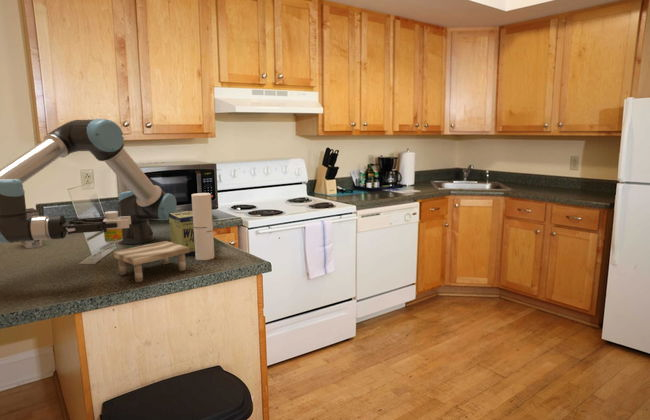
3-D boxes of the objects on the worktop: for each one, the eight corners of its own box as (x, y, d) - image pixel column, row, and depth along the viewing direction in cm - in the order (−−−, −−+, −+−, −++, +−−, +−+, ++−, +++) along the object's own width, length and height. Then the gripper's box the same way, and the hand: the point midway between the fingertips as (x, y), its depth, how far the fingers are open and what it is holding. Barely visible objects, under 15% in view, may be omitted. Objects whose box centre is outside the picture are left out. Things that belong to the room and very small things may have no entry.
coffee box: (20, 245, 200) (15, 209, 198) (37, 242, 205) (32, 207, 202) (26, 248, 194) (21, 211, 192) (43, 245, 199) (38, 209, 196)
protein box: (183, 256, 178) (180, 218, 176) (170, 248, 191) (167, 212, 188) (208, 252, 184) (206, 214, 182) (194, 245, 197) (192, 209, 194)
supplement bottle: (102, 243, 146) (99, 213, 144) (107, 239, 151) (104, 210, 149) (120, 242, 147) (117, 213, 145) (124, 238, 152) (122, 210, 150)
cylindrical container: (194, 256, 178) (190, 193, 174) (212, 254, 181) (209, 192, 177) (197, 261, 172) (192, 196, 168) (216, 258, 175) (212, 194, 170)
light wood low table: (114, 273, 158) (112, 251, 156) (167, 261, 172) (166, 240, 171) (136, 283, 147) (134, 259, 146) (190, 269, 162) (189, 247, 161)
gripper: (59, 232, 152) (133, 227, 159) (43, 246, 134) (127, 239, 141) (56, 210, 150) (131, 206, 157) (40, 221, 133) (125, 215, 140)
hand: (129, 221), depth 149 cm, fingers closed on supplement bottle, 5 cm apart
